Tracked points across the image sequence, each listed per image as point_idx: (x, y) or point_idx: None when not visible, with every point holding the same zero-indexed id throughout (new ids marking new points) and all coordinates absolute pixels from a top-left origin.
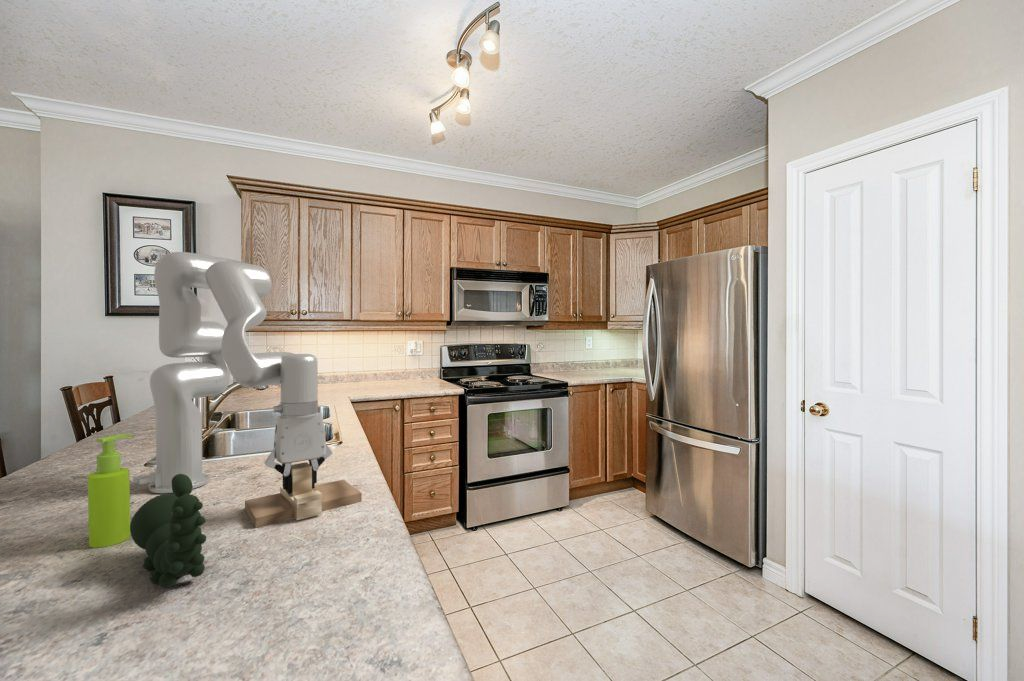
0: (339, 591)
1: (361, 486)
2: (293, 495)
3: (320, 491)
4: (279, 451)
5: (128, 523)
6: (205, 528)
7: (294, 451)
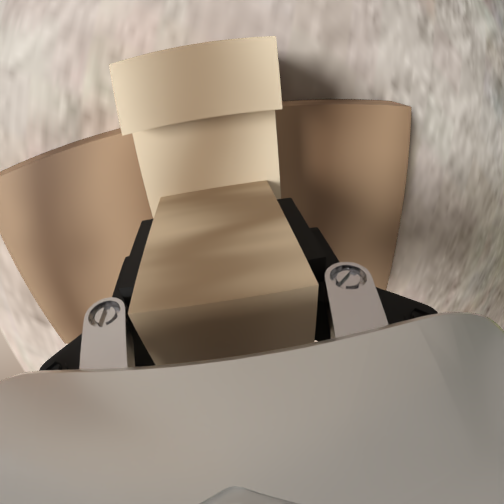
0: None
1: (22, 304)
2: (263, 184)
3: None
4: None
5: None
6: (467, 195)
7: (410, 476)
